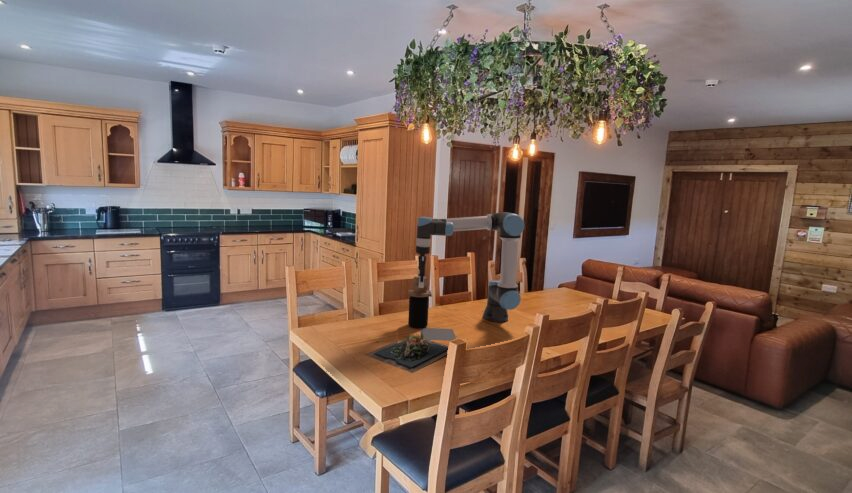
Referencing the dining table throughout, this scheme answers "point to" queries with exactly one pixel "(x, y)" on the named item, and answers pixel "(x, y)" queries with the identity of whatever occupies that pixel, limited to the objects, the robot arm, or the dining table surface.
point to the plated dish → (410, 353)
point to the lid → (420, 289)
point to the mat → (438, 334)
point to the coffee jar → (418, 311)
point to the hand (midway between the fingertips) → (420, 284)
